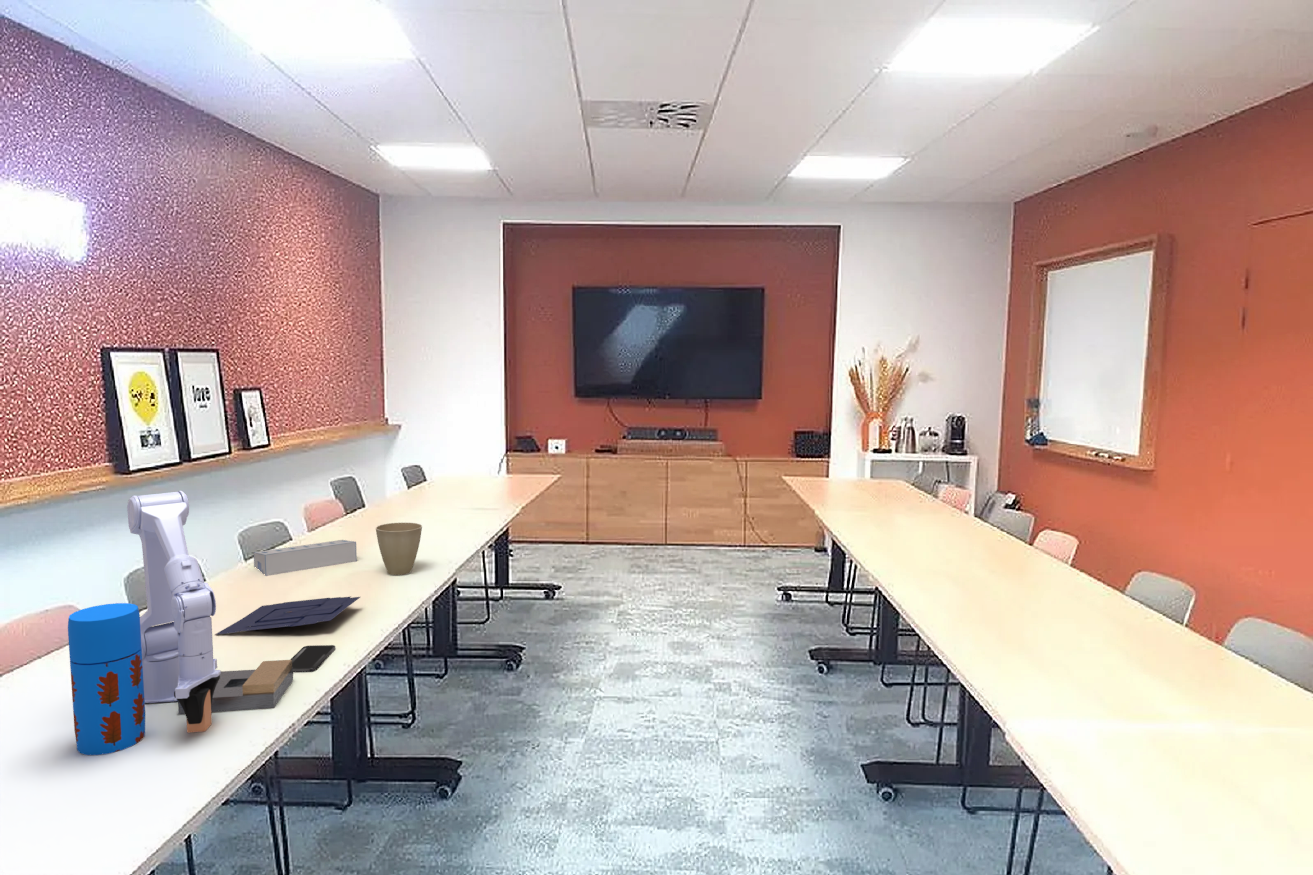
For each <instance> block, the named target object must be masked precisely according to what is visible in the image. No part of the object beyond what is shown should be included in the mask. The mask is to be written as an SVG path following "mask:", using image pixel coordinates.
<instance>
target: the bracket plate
mask: <svg viewBox="0 0 1313 875" xmlns="http://www.w3.org/2000/svg"><path fill="white" fill-rule="evenodd" d="M293 682H294V673H293V667H292V660H290V659H281V660H279V659H277V660H264V661H262V662H261V663H260V664H259V665H258V667H256V668H255V669H243V670H242V669H241V670H225V671H224V670H223V671H222V670H221V674H220V679H219V681H218V683H217V685H216V687H215V690H214V694H213V698H212V703H211V713H217V712H231V711H232V712H233V711H245V710H247V711H248V710H260V709H261V710H263V709H274V708H275V707H276V706H277V705H278V703H279V701H280V700H281V698H282V697H283V695H284V694H285V693H286V691H287V690H288V689H289V687H290V686H291V684H292V683H293ZM177 705H178V708H177V709H178V711H177V712H178V715H185V712H184V710H183V708H182V706H181V704H180V703H179V702H178V701H177Z"/></svg>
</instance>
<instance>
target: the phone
mask: <svg viewBox="0 0 1313 875" xmlns="http://www.w3.org/2000/svg"><path fill="white" fill-rule="evenodd" d="M335 651H336V645H334V644H331V645H330V644H328V645H327V644H325V645H323V644H322V645H321V644H320V645H317V644H316V645H305V646H303V647H302V648H300V650H299V651H297V653H296V654H294V655H293V657H291V658H290V659H289V660H292V667H293V674H294V673H313V672H316V671H317V670H318V669H319V668H320V667H321V666H322V665H323V664H324V663H325V661H326V660H327V659H328V658H329V657H330V656H331V655H332V654H333V653H334V652H335Z"/></svg>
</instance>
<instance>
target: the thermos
mask: <svg viewBox="0 0 1313 875" xmlns="http://www.w3.org/2000/svg"><path fill="white" fill-rule="evenodd" d="M140 617H141V616H140V610H139V605H136V604H135V603H130V602H128V603H127V602H126V603H125V602H124V603H123V602H121V603H120V602H118V603H117V602H116V603H106V604H100V605H99V604H98V605H95V606H90V607H86V608H83V609H79V610H77V611H74V612H73V613H71V614H69V616H68V621H67V636H68V651H69V667H70V668H69V669H70V678H71V680H70V681H71V695H72V697H71V698H72V699H71V700H72V711H73V726H74V738H75V743H76V744H75V745H76V750H77V752H78V753H79V754H81V755H85V756H101V755H107V754H111V753H116V752H120V751H123V750H125V749H128V748H130V747H132V746H134V745H136V744H138V743H139V742H141V741H142V740H143V739H144V738H145V736H146V705H145V704H146V703H145V700H144V682H143V664H142V647H141V629H140Z"/></svg>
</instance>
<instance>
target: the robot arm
mask: <svg viewBox="0 0 1313 875" xmlns="http://www.w3.org/2000/svg"><path fill="white" fill-rule="evenodd" d="M189 503H190V502H189V499H188V495H187V494H186V493H185V492H184V491H183V490H178V491H173V492H163V493H154V494H153V493H152V494H141V495H135V494H134V495H132V496H130V497H129V499H128V501H127V507H126V512H127V522H128V529H129V531H130V534H134V535H139V538H140V541H141V548H142V560H143V562H142V563H143V571H144V572H143V573H144V582H145V583H144V584H145V596H146V597H145V598H146V608H147V610H146V611H145V612H144V613H143V614H142V615H141V616H140V629H141V647H142V664H143V682H144V700H145V704H152V703H169V702H170V703H171V702H177V703H178V702H179V703H180V704H181V706H182V708H183V710H184V712H185V714H184V715H185V718H186V722H187V721H188V723H189V724H200V723H201V722H202V718H203V710H204V702H205V698H206V695H207V693H208V690H210V697H211V703H212V698H213V694H214V690H215V687H216V685H217V683H218V681H219V679H220V674H221V671H222V670H220V669H218V660H217V658H214V645H213V643H214V641H213V624H212V623H213V622H212V620H213V619H212V617H213V616H215V615H216V611H217V602H216V597H215V592H214V590H213V588H212V587H211V586H210V585H209V583H208V582H205V580H204V577H203V574H202V571H201V569H200V565H199V562H198V560H197V559H196V557H194V556H191V555H189V551H188V545H187V540H186V536H185V531H184V526H185V525H186V522H187V519H188V516H189V515H190V504H189Z"/></svg>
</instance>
